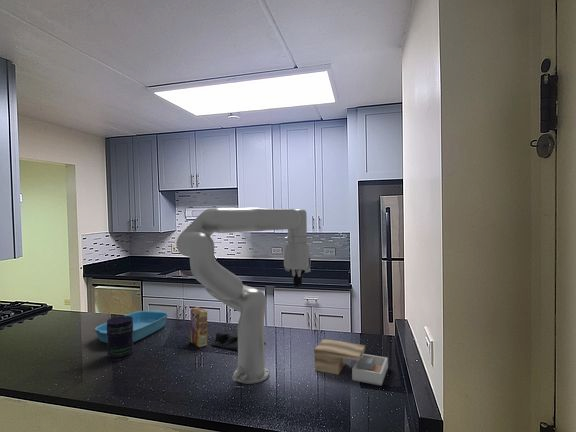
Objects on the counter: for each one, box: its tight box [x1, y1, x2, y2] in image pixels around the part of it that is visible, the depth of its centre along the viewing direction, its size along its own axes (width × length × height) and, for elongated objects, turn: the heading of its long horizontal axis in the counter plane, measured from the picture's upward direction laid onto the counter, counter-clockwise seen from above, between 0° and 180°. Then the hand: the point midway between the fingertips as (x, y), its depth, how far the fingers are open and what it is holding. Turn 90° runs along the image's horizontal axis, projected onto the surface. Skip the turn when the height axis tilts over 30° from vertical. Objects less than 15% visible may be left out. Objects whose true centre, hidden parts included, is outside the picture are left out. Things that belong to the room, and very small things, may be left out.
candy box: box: [190, 307, 208, 348], centre depth 155 cm, size 9×4×15 cm, turn 39°
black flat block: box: [211, 332, 266, 351], centre depth 154 cm, size 15×22×5 cm
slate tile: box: [357, 358, 375, 369], centre depth 125 cm, size 5×5×2 cm
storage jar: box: [106, 315, 134, 361], centre depth 143 cm, size 10×10×15 cm
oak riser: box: [313, 338, 366, 375], centre depth 129 cm, size 11×16×8 cm, turn 66°
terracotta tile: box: [365, 365, 382, 373], centre depth 124 cm, size 5×5×2 cm
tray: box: [351, 353, 389, 386], centre depth 125 cm, size 14×10×4 cm
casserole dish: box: [94, 309, 169, 344], centre depth 168 cm, size 37×22×7 cm, turn 165°
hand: (297, 286), depth 138 cm, fingers closed
